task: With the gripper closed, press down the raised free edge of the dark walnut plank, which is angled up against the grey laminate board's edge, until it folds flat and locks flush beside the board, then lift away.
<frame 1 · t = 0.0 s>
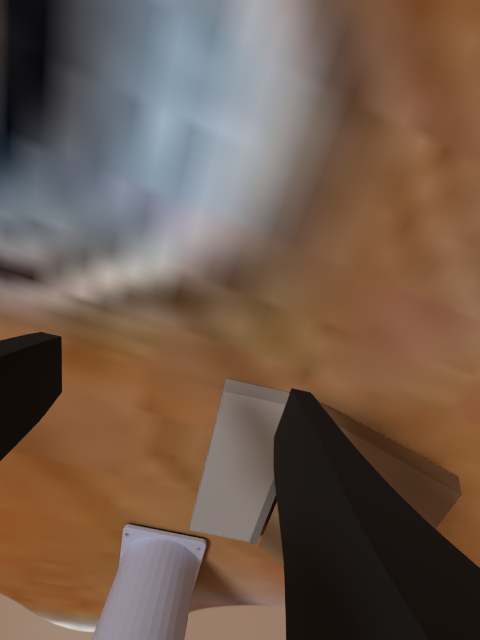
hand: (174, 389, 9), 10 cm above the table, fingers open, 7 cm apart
walnut plank: (339, 517, 21), point 3 cm above the table, hinge at 30.0°
grey board: (242, 461, 23), on the table
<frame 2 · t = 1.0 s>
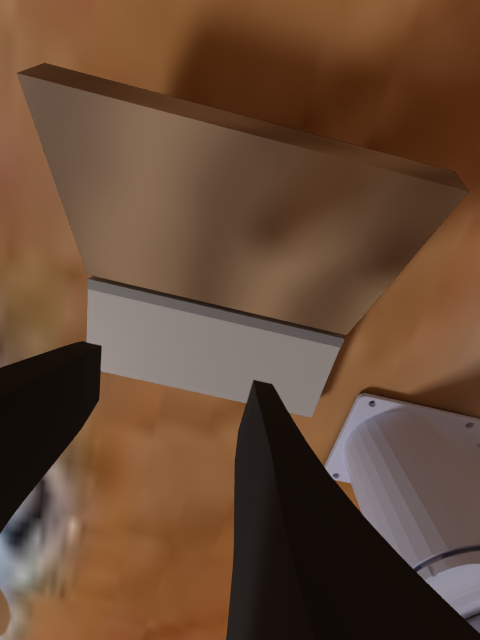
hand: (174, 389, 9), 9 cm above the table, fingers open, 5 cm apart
walnut plank: (233, 233, 13), point 3 cm above the table, hinge at 30.0°
grey board: (212, 342, 19), on the table
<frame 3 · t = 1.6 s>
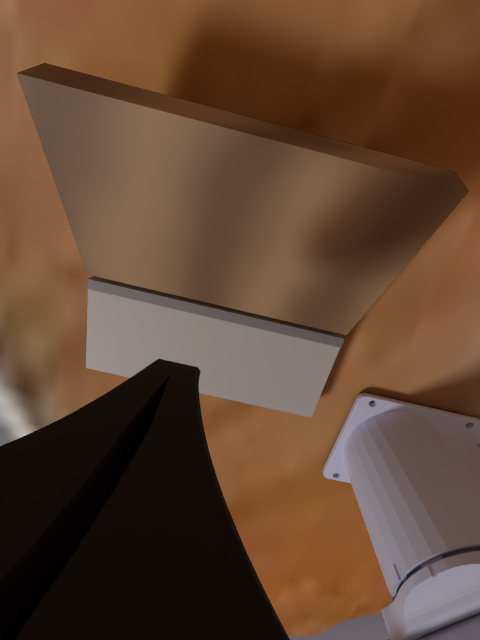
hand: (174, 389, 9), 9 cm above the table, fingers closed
walnut plank: (233, 233, 13), point 3 cm above the table, hinge at 30.0°
grey board: (212, 342, 19), on the table
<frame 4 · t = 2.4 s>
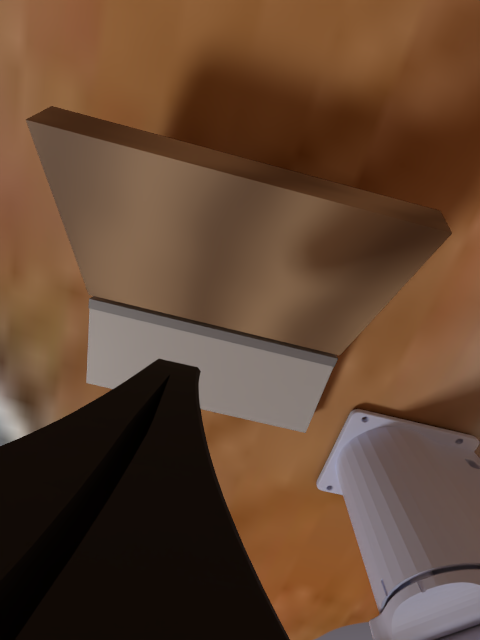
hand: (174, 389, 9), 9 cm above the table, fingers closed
walnut plank: (230, 260, 14), point 3 cm above the table, hinge at 30.0°
grey board: (209, 359, 19), on the table
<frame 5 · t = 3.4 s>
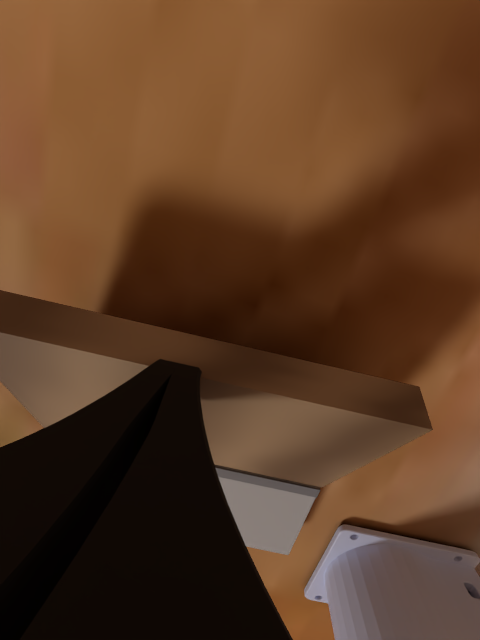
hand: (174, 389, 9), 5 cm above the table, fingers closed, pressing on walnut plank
walnut plank: (193, 411, 12), point 3 cm above the table, hinge at 26.8°, touching gripper
grey board: (183, 474, 18), on the table
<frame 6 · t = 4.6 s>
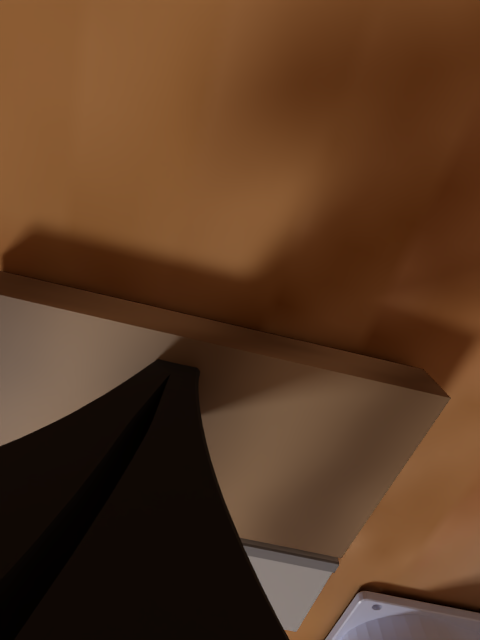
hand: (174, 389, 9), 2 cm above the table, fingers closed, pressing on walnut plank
walnut plank: (185, 431, 10), point 1 cm above the table, hinge at 2.4°, touching gripper
grey board: (165, 533, 14), on the table
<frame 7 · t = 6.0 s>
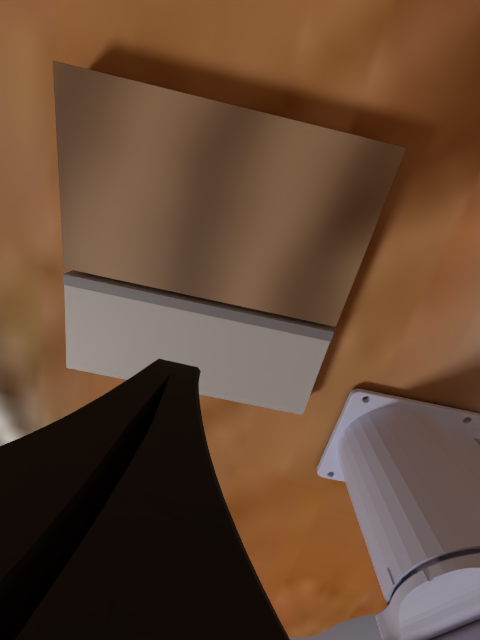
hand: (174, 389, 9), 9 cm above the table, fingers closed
walnut plank: (218, 213, 14), point 1 cm above the table, hinge at 2.4°
grey board: (198, 339, 18), on the table
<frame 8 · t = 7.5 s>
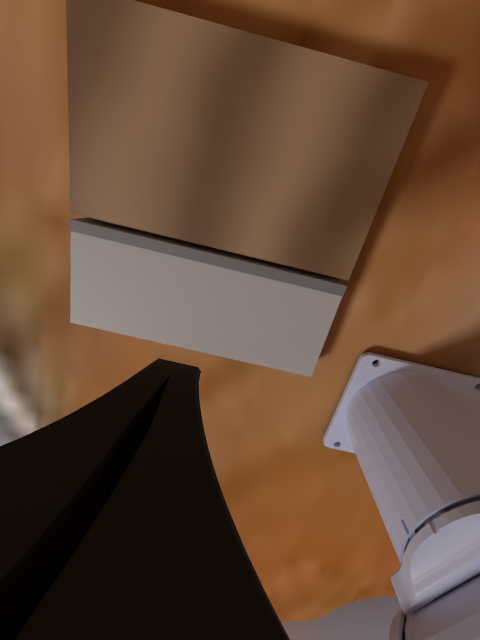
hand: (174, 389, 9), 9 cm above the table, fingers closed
walnut plank: (231, 156, 14), point 1 cm above the table, hinge at 2.4°
grey board: (205, 297, 18), on the table
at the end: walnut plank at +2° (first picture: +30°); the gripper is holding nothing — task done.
